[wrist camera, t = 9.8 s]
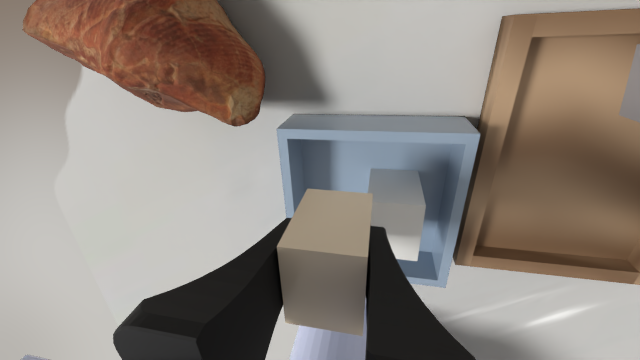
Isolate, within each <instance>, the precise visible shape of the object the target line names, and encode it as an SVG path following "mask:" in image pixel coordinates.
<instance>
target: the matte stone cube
mask: <svg viewBox="0 0 640 360" xmlns="http://www.w3.org/2000/svg"><path fill="white" fill-rule="evenodd" d="M619 115H620V116H623V117H625V118H628V119H631V120H634V121H637V122H639V123H640V44H637V46H636V50H635V54H634V58H633V62H632V66H631V69H630V73H629V77H628V81H627V85H626V89H625V93H624V97H623V100H622V104H621V108H620V112H619Z"/></svg>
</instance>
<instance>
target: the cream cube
mask: <svg viewBox="0 0 640 360" xmlns="http://www.w3.org/2000/svg"><path fill="white" fill-rule="evenodd" d="M372 201H373V194H372V193H359V192H346V191H333V190H319V189H307V190H306V192H305V194H304V196H303V198H302V200H301V202H300V204H299V205H298V207H297V209H296V211H295V213H294V215H293V217H292V219H291V221H290V223H289V224H288V226H287V228H286V230H285V232H284V234H283V236H282V238H281V240H280V241H279V243H278V245H277V253H278V262H279V270H280V279H281V288H282V297H283V305H284V314H285V323H289V324H295V325H301V326H306V327H312V328H318V329H324V330H330V331H335V332H341V333H347V334H353V335H359V336H363V326H364V313H365V300H366V283H367V267H368V251H369V237H370V226H371V216H372Z"/></svg>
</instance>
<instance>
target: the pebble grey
mask: <svg viewBox="0 0 640 360" xmlns="http://www.w3.org/2000/svg"><path fill="white" fill-rule="evenodd" d="M368 193H372V194H373V201H372V216H371V226H378V227H384V228H385V229H386V234H387V237H388V240H389V243H390V246H391V248H392V251H393V253H394V255H395V257H396V259H401V260H410V261H417V260H418V253H419V247H420V241H421V234H422V228H423V222H424V215H425V209H426V204H425V200H424V195H423V191H422V186H421V182H420V178H419V173H418V171H412V170H392V169H372V168H371V169H370V178H369V187H368Z"/></svg>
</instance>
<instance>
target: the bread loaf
mask: <svg viewBox="0 0 640 360" xmlns="http://www.w3.org/2000/svg"><path fill="white" fill-rule="evenodd" d="M23 31H24V32H26V33H27V34H28V35H30V36H31V37H33V38H35V39H37V40H39V41H40V42H42V43H44V44H46V45H47V46H49V47H50V48H52V49H54V50H56V51H58V52H60V53H62V54H63V55H65V56H67V57H70V58H72V59H75V60H76V61H78V62H80V63H81V64H82V65H83V66H85V67H87V68H89V69H91V70H93V71H96V72H98V73H100V74H103V75H105V76H106V77H108V78H109V79H111V80H112V81H114V82H115V83H116V84H118V85H119V86H120V87H122V88H123V89H125V90H127V91H129V92H131V93H132V94H134V95H135V96H137V97H139V98H141V99H143V100H145V101H147V102H149V103H151V104H153V105H154V106H156V107H160V108H165V109H171V110H177V111H181V112H192V111H200V112H203V113H206V114H208V115H210V116H212V117H215V118H216V119H218V120H220V121H222V122H224V123H227V124H229V125H232V126H241V125H244V124H248V123H249V122H250V121H252V120H254V119H255V118H256V117H257V115H258V114H259V111H260V104H261V100H262V98H263V94H264V87H265V72H264V69H263V65H262V62H261V60H260V59H259V58H258V56H257V54H256V53H255V52H254V51H253V49H252V48H251V47H250V46H249V45H248V44H247V43H246V42H245V40H243V38H242V37H241V35H240V34H239V33H238V32H237V30H236V29H235V28H234V26H233V25H232V24H231V22H230V20H229V18H228V17H227V15H226V13H225V11H224V9H223V8H222V7H221V6H220V5H219V3H218V2H217V0H36V1H35V2H34V3H33V4H32V5H31V6H30V7H29V8H28V10H27V13H26V16H25V18H24V20H23Z"/></svg>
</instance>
